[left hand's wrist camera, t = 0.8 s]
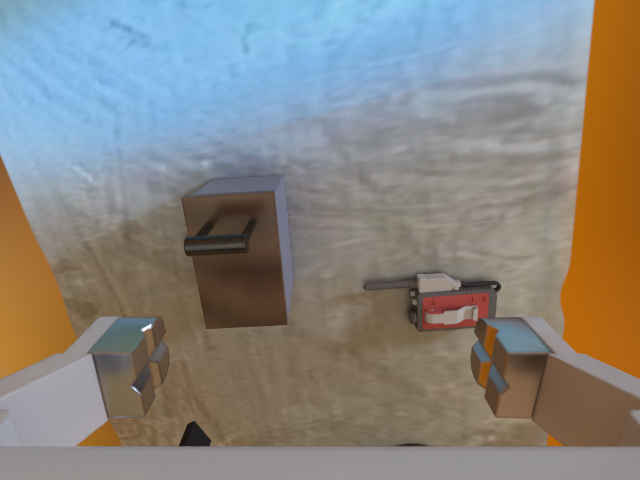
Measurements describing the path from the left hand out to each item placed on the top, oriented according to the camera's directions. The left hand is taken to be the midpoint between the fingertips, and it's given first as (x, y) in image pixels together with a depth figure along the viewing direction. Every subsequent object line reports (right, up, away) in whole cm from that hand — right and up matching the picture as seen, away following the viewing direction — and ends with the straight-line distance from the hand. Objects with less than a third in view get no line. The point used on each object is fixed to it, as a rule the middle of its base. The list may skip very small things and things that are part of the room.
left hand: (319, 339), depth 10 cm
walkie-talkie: (+17, -6, +50) cm, 53 cm away
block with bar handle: (-9, 0, +36) cm, 37 cm away
